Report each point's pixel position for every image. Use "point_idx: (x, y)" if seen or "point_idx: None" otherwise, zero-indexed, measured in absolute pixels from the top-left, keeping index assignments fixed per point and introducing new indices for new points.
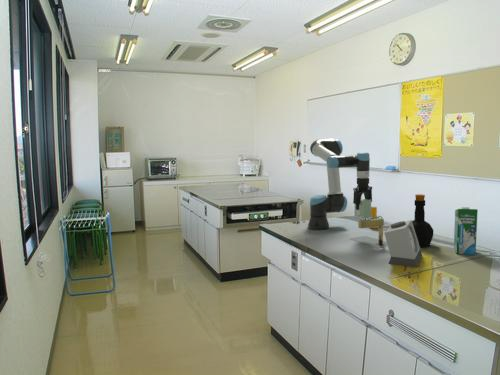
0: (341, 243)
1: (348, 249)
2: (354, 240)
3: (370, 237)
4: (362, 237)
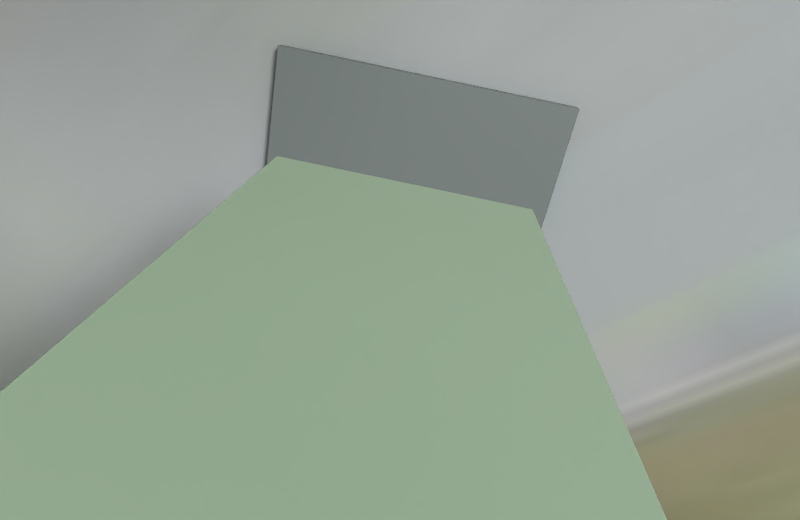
0: (86, 94)
1: (8, 286)
2: (273, 154)
3: (537, 211)
4: (469, 139)
